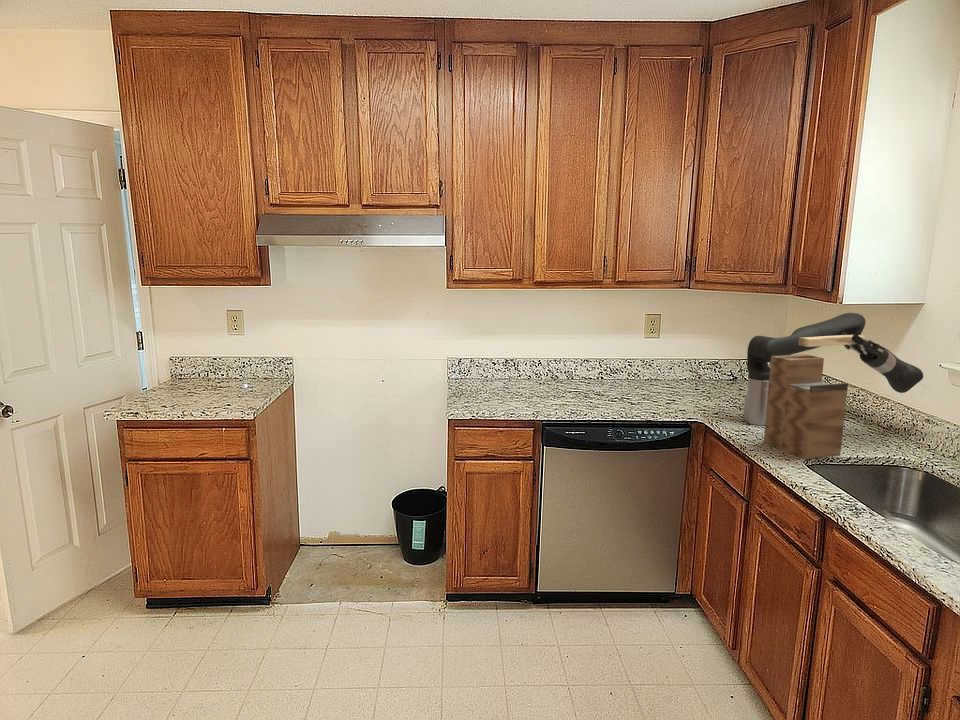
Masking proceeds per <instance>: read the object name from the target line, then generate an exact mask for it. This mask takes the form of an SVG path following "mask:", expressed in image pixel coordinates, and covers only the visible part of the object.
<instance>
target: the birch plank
mask: <svg viewBox="0 0 960 720" xmlns="http://www.w3.org/2000/svg"><path fill="white" fill-rule="evenodd" d="M852 336H853V335H840V336H821V337H802V338H799V345H801V346H806V347H814V346H821V347H827V346H828V347H829V346H842V345H843V346H844V345H848V344H857V343H855V342H854V341H853V340H852ZM858 336H860V337H861V338H862V339H866V335H858Z"/></svg>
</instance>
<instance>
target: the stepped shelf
mask: <svg viewBox="0 0 960 720" xmlns="http://www.w3.org/2000/svg"><path fill="white" fill-rule="evenodd" d="M824 363H825V358H824V357H820V356H814V355H810V354H807V353H806V354H792V355H784V356H771V362H770V366H769V367H770V377H769V388H768V400H767V411H766V423H765V425H764V437H763V443H764V444H766V445H769V446H771V447H774V448H776V449H778V450H780V451H781V450H782V451H784V452H787V453H789V454H791V455H794V456H796V457H799V458H801V459H805V460H810V459H818V458H827V457H835V456H841V451H842V450H841V449H842V443H843V433H844V432H843V431H844V424H845V415H846V406H847V405H846V404H847V397H848V386H849V383H847V382H841V383H827V382H823V372H824Z"/></svg>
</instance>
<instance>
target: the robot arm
mask: <svg viewBox="0 0 960 720" xmlns="http://www.w3.org/2000/svg"><path fill="white" fill-rule="evenodd" d="M866 323H867V322H866V318H865V316H863V315H862V314H860V313H858V312H857V313H856V312H847V313H842V314H839V315H837V316H834V317H831V318H829V319H826V320H823V321H820V322H816V323H812V324H809V325H805V326H800V327H798V328H796V329H795V330H793V332H792V333H791V334H790V335H788V336H782V337H772V336H771V337H770V336H765V335H755V336H754V337H752V338H751V339H750V340H749V343H748V346H747V350H746V351H747V352H746V353H747V354H746V358H747V359H746V361H747V362H746V369H747V373H748V381H747V391H746V392H747V393H746V395H745V396H744V404H743V405H744V406H743V417H742V419H743V421H745V423H747V422H748V424H750V425H756V426H765V423H766V411H767V400H768V388H769V377H770V366H769V364H768V363H771V356H784V355H796V354H799V353H802V352H807V351H810V350H813V349H818V348H821V347H822V346H814V347H806V346H801V345H799V338H802V337H821V336H840V335H853V336H852V340H853V341H854V342H855V343H857V344H848V345H843V346H844V348H845V349H846V350H853V351H855V353H857V354H858V355H859V358H860V360H861V361H862V362H863V363H864V364H866V365H867V366H868V367H870V368H871V369H873V370H874V371H876V372H877V373H879V374H880V375H882V376H883V377H885V378H886V380H887V382H888V384H889V387H891V388H892V390H894V391H895V392H897V393H901V394H904V393H906V392H908V391H911V389H913V387H915V386H916V385H917V384H918V383H920V382H921V381H922V380H923V379H924V373H923V370H921V369H920V368H919V367H918V366H915V365H914V364H913V365H912V364H910V363H908V362H906V361H903V360H902V359H900V358H898V357H897V356H896V354H894V353H892V352H891V350H889V349H888V348H886V347H884V346H882V345H880V343H876V342H874V341H872V340H867V339H866V338H865V339H862V338H861V337H860V336H862V333H863V331H864V328H865V326H866ZM858 335H860V336H858Z"/></svg>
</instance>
